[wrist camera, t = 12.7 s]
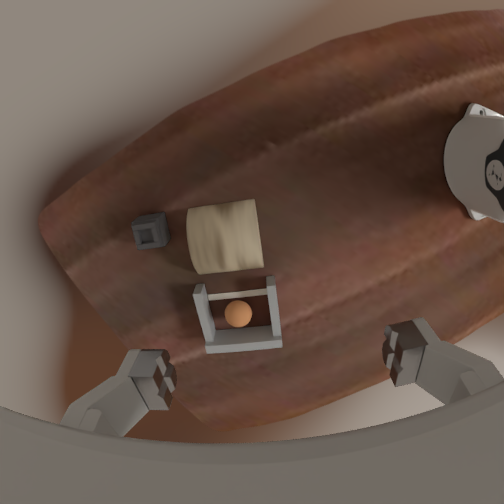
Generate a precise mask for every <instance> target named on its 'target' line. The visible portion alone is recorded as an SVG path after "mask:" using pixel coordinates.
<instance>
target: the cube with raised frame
mask: <svg viewBox="0 0 504 504" xmlns="http://www.w3.org/2000/svg"><path fill="white" fill-rule="evenodd" d="M131 224H132V226H131V227H132V230H133V234H134V238H135V242H136V245H137V249H138V250H143V249H150V248H157V247H165V246H166V244H167V243H168V242H169V240H170V239H171V237H170V233H169V229H168V225H167V220H166V216H165V212H161V213H155V214H149V215H144V216H139V217H138V218H136V219H135V220H134V221H132V222H131Z"/></svg>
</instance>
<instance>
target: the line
mask: <svg viewBox="0 0 504 504" xmlns="http://www.w3.org/2000/svg"><path fill="white" fill-rule="evenodd" d="M267 294H268V293H267V288H265V289H256V290H247V291H238V292H229V293H219V294H209V295H208V299H209V301H210V300H220V299H230V298H240V297H249V296H258V295H267Z"/></svg>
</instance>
